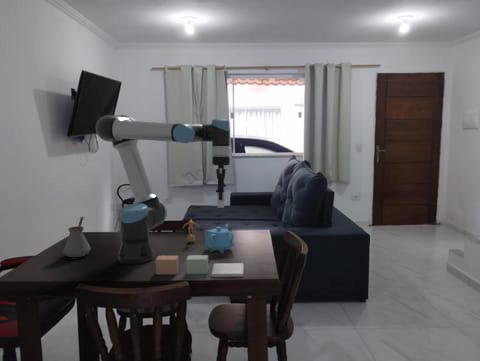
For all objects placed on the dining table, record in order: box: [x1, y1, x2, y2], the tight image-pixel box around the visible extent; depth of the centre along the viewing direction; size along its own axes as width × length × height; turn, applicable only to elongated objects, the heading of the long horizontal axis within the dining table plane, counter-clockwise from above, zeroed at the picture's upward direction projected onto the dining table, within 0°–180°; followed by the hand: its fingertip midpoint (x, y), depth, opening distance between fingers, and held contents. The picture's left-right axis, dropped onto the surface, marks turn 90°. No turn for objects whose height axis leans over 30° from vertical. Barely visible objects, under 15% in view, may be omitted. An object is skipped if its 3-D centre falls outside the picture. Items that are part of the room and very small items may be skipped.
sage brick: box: [185, 254, 209, 275], centre depth 162 cm, size 8×5×6 cm, turn 89°
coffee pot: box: [63, 216, 91, 258], centre depth 190 cm, size 21×12×15 cm, turn 9°
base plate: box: [211, 262, 244, 278], centre depth 162 cm, size 12×12×1 cm
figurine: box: [182, 218, 200, 243], centre depth 203 cm, size 8×6×12 cm
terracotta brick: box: [155, 255, 180, 275], centre depth 163 cm, size 8×5×6 cm, turn 89°
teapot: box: [204, 223, 235, 254], centre depth 191 cm, size 13×14×11 cm
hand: (221, 204), depth 179 cm, fingers open, 13 cm apart
